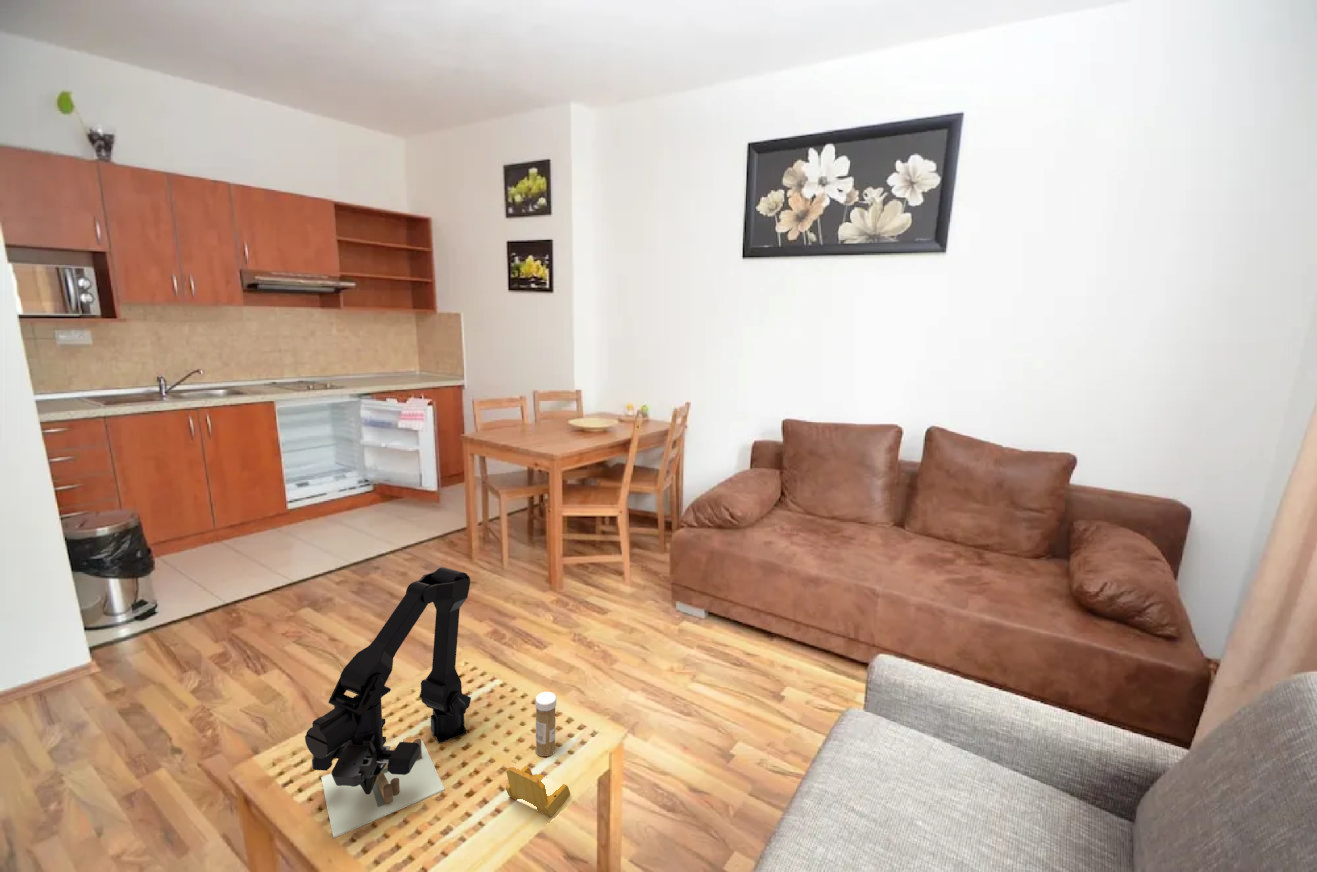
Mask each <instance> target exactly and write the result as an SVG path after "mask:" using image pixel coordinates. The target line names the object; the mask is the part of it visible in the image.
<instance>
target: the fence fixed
mask: <svg viewBox="0 0 1317 872" xmlns="http://www.w3.org/2000/svg"><path fill="white" fill-rule="evenodd" d="M421 740H422V739H420V738H416V739H414V740H413V742H412V743H418V744H419V746H420V755H419V757H418V758H417V760H418V759H420V758H421V757H422V749H421ZM395 749H396V748H393V749H392V750H395ZM387 765H388V763H387V764H386V766H385V767H384V769H385V768H387ZM390 783H391V784H392V791H393V796H395V795H398V794H399V792H400V787H399V778H394V779H392V780H391V782H390Z"/></svg>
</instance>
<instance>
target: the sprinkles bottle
mask: <svg viewBox="0 0 1317 872" xmlns="http://www.w3.org/2000/svg"><path fill="white" fill-rule="evenodd" d="M556 706H557V696H556V694H555V693H554V692H550V691H543V692H540V693H539V694H537V696H535V709H536V710H535V711H536V713H535V715H536V716H535V744H536V745H535V746H536V747H535V754H537V755H538V756H539V755H540V757H542V756H547V757H549V756H548V755H550V756H551V754H552V753H553V752H554V751H555V752H556V748H557V747H556ZM555 752H554V753H555ZM554 753H553V754H554ZM553 754H552V755H553Z"/></svg>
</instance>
